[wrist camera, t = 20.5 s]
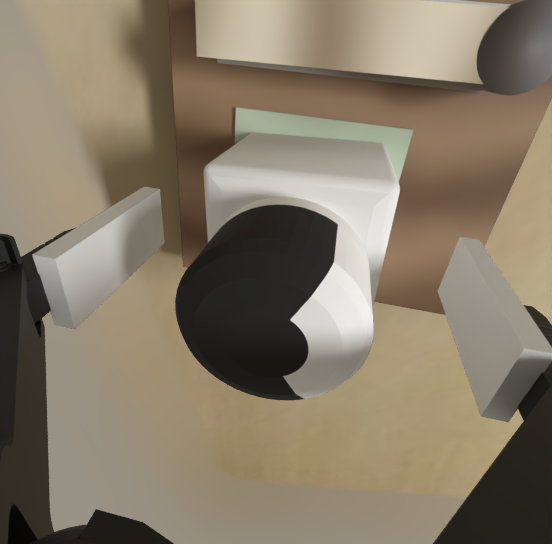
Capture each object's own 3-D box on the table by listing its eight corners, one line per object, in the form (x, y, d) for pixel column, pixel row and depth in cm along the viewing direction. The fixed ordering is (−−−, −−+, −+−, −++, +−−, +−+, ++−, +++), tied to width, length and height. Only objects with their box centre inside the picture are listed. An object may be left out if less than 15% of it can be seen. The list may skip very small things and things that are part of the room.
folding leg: (554, 9, 14) (589, 1, 12) (520, 94, 16) (546, 99, 13) (215, -14, 16) (194, -26, 14) (216, 64, 17) (196, 64, 15)
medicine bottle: (248, 249, 22) (162, 404, 12) (249, 130, 19) (126, 213, 9) (362, 264, 21) (369, 446, 11) (387, 141, 18) (429, 249, 8)
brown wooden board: (183, -27, 18) (163, -37, 16) (570, 6, 16) (599, -1, 14) (194, 253, 26) (181, 268, 24) (445, 298, 24) (453, 318, 22)
